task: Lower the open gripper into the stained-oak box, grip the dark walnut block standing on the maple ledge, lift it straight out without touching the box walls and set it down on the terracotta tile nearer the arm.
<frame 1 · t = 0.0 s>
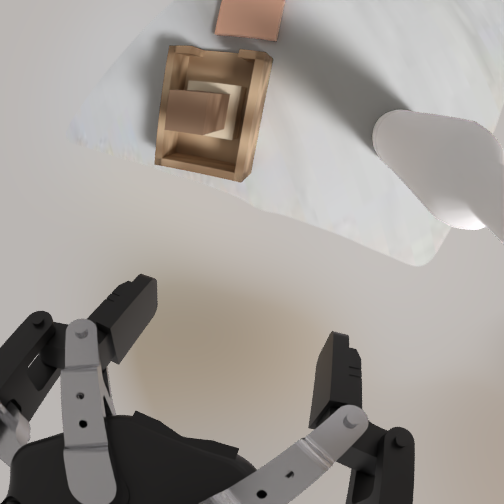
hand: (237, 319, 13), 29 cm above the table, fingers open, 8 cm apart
oak box: (218, 108, 36), on the table
bottle: (399, 139, 33), on the table
terracotta tile: (251, 11, 28), on the table
walnut block: (209, 109, 33), point 3 cm above the table, touching oak box
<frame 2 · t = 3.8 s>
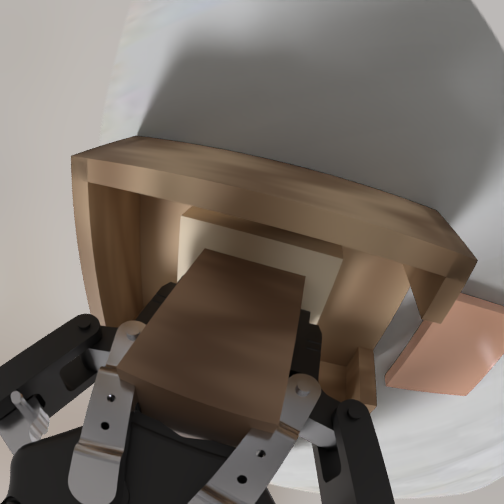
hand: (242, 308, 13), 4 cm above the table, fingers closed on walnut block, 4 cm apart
oak box: (259, 268, 16), on the table
terracotta tile: (457, 346, 16), on the table
walnut block: (245, 301, 14), point 3 cm above the table, touching gripper, oak box
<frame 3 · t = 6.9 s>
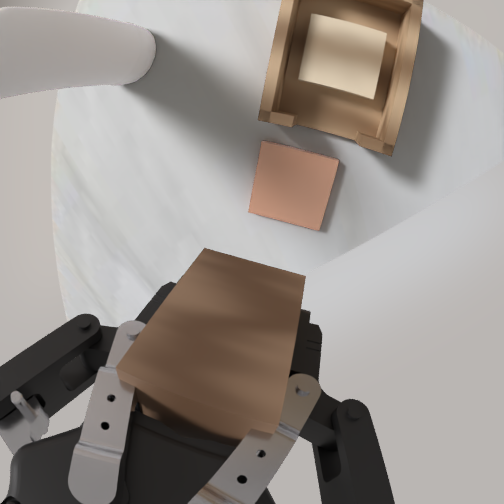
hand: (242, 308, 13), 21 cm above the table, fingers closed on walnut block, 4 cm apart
oak box: (341, 59, 23), on the table
bottle: (130, 54, 27), on the table
terracotta tile: (292, 184, 31), on the table
walnut block: (245, 301, 14), point 20 cm above the table, touching gripper
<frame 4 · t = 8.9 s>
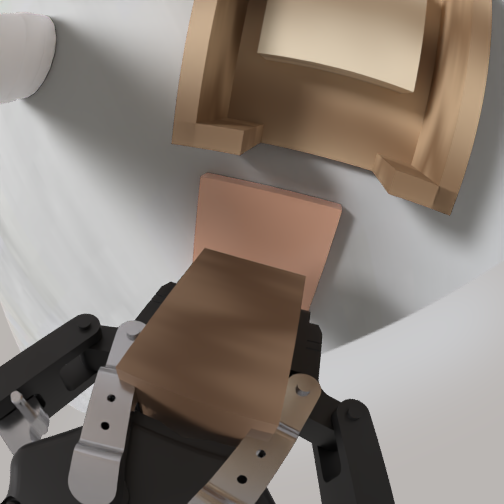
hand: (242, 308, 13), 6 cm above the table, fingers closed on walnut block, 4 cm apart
oak box: (344, 19, 11), on the table
bottle: (32, 55, 15), on the table
terracotta tile: (260, 247, 19), on the table
walnut block: (245, 301, 14), point 6 cm above the table, touching gripper
when the fingers open (3 cm above the table, at t = 10.3 s): walnut block drops 2 cm, resting on terracotta tile.
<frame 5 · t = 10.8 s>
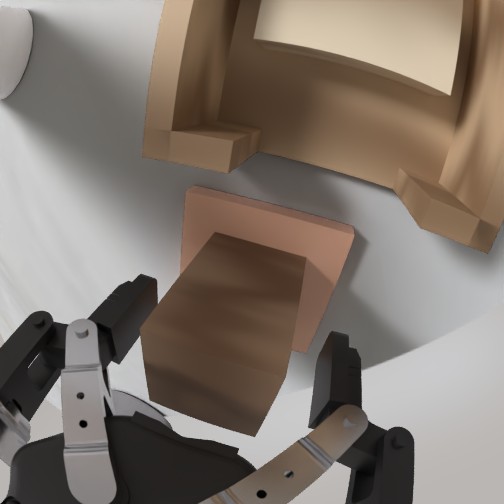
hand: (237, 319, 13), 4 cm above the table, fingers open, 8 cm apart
oak box: (362, 3, 8), on the table
bottle: (10, 52, 12), on the table
terracotta tile: (257, 272, 16), on the table
walnut block: (251, 282, 15), point 1 cm above the table, touching terracotta tile
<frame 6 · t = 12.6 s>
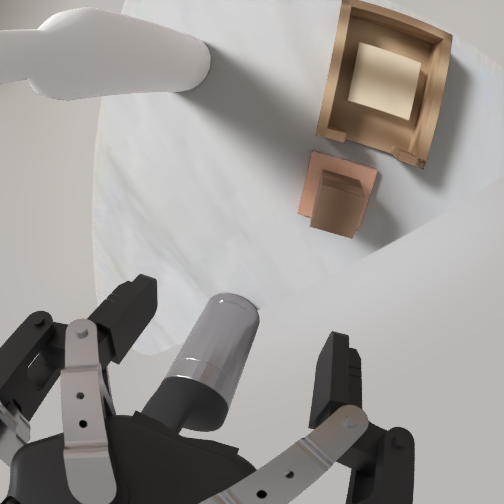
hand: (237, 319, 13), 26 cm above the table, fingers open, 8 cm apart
oak box: (380, 82, 27), on the table
bottle: (184, 63, 31), on the table
terracotta tile: (336, 190, 35), on the table
walnut block: (336, 191, 34), point 1 cm above the table, touching terracotta tile
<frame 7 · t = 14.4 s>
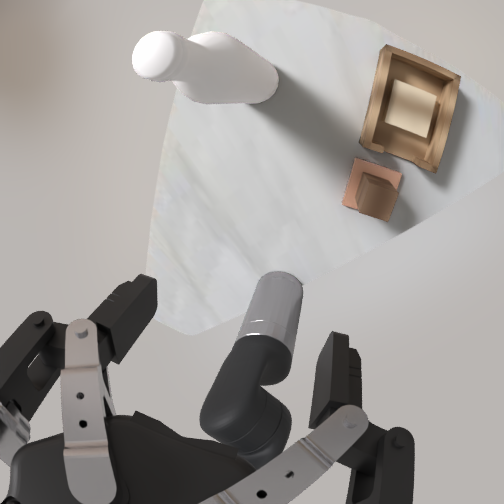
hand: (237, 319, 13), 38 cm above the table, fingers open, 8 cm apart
oak box: (406, 108, 37), on the table
bottle: (254, 80, 41), on the table
terracotta tile: (371, 187, 45), on the table
walnut block: (371, 188, 44), point 1 cm above the table, touching terracotta tile
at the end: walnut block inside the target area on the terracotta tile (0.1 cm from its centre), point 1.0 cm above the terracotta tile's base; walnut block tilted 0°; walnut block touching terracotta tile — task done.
